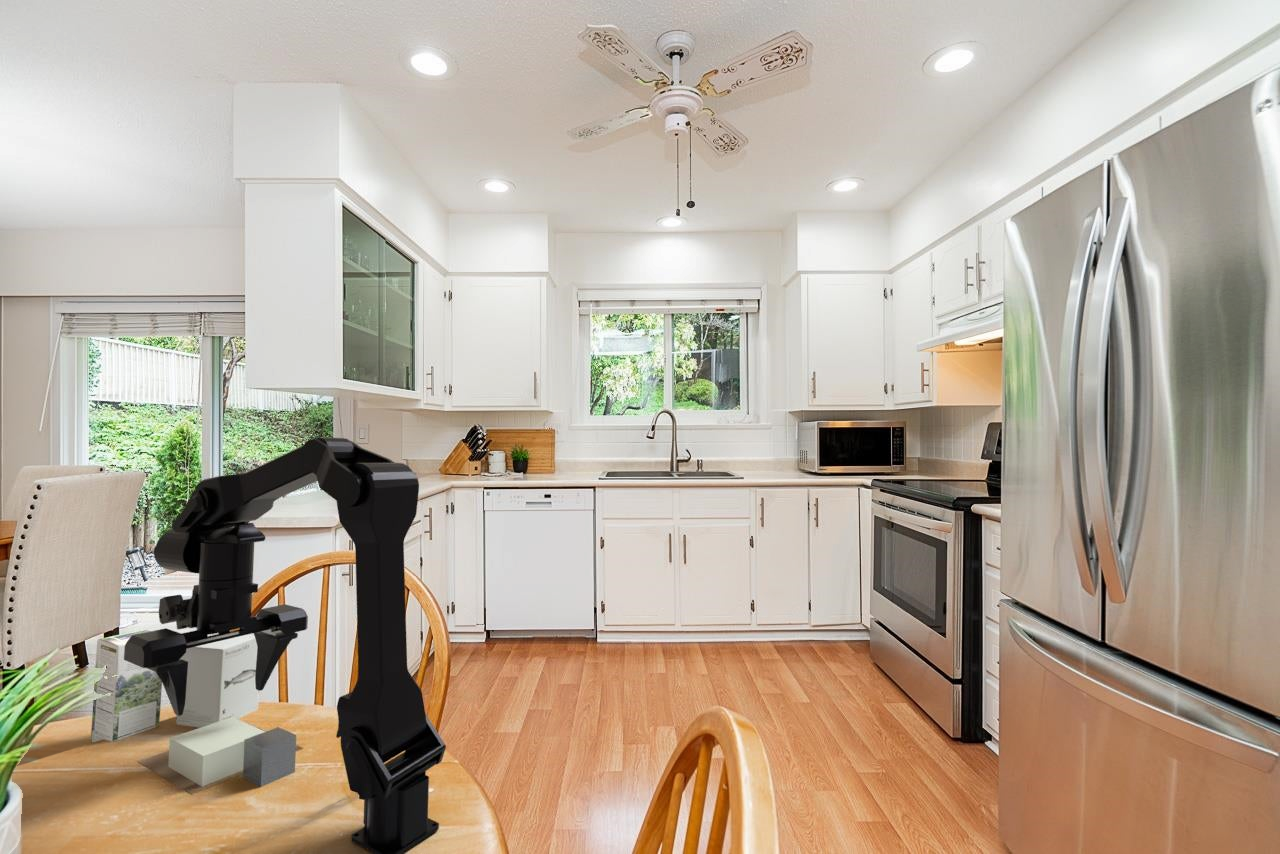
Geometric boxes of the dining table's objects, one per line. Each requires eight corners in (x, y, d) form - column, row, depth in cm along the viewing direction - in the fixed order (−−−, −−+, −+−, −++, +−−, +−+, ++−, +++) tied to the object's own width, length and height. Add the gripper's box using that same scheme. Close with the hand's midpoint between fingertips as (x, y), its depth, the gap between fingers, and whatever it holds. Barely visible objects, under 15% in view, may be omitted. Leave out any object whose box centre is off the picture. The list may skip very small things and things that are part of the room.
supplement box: (217, 740, 86) (221, 649, 86) (173, 735, 87) (178, 645, 88) (259, 718, 93) (263, 634, 93) (219, 713, 94) (222, 631, 95)
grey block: (294, 784, 75) (296, 734, 75) (260, 800, 71) (262, 748, 72) (276, 775, 77) (278, 727, 77) (242, 790, 73) (244, 739, 74)
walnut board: (302, 759, 81) (303, 747, 81) (190, 807, 70) (191, 794, 70) (247, 733, 88) (247, 723, 88) (137, 773, 77) (137, 761, 77)
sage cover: (265, 760, 77) (267, 732, 78) (202, 786, 71) (203, 756, 71) (231, 743, 82) (232, 716, 82) (168, 766, 75) (169, 737, 76)
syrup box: (138, 727, 89) (143, 627, 90) (160, 736, 87) (165, 633, 87) (89, 744, 84) (95, 637, 85) (111, 753, 81) (117, 644, 82)
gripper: (267, 560, 90) (263, 667, 89) (107, 582, 74) (100, 713, 73) (311, 568, 84) (307, 683, 83) (149, 593, 68) (142, 736, 67)
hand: (221, 701), depth 77 cm, fingers open, 9 cm apart
